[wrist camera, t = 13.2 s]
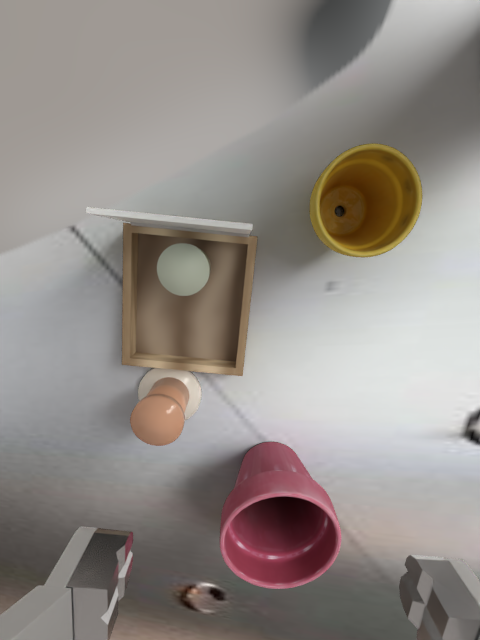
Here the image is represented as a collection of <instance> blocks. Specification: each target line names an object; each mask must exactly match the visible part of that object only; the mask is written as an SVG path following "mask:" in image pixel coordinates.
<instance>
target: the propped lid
mask: <svg viewBox="0 0 480 640" xmlns="http://www.w3.org/2000/svg"><path fill="white" fill-rule="evenodd" d="M86 213H88V214H93V215H98V216H103V217H108V218H113V219H117V220H122V221H127V222H131V225H132V226H142V227H152V228H161V229H171V230H181V231H191V232H201V233H211V234H220V235H230V236H240V237H249V234H250V233H251V231H252V227H253V224H249V223H239V222H229V221H219V220H209V219H200V218H190V217H180V216H170V215H161V214H151V213H141V212H131V211H122V210H112V209H102V208H92V207H86Z"/></svg>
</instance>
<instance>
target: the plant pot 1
mask: <svg viewBox="0 0 480 640" xmlns="http://www.w3.org/2000/svg"><path fill="white" fill-rule="evenodd" d="M340 546H341V530H340V526H339V523H338V519H337V516H336V513H335V510H334V507H333V505H332V502H331V500H330V498H329V496H328V494H327V493H326V491H325V490H324V489H323V488H322V487H321V486H320V485H319V484H318V483H317V482H316V481H314V480H313V479H312V478H311V476H310V474H309V473H308V471H307V470H306V468H305V467H304V465H303V464H302V462H301V461H300V459H299V458H298V456H297V455H296V453H295V452H294V451H293V450H292V449H291V448H290V447H288V446H286V445H284V444H281V443H278V442H265V443H261V444H258V445H256V446H254V447H253V448H251V449H250V450H249V451H248V452H247V453H246V455H245V456H244V458H243V461H242V464H241V467H240V470H239V473H238V477H237V480H236V483H235V487H234V489H233V490H232V491H231V493H230V494H229V495H228V497H227V499H226V501H225V503H224V506H223V509H222V515H221V527H220V549H221V553H222V556H223V559H224V561H225V562H226V564H227V566H228V567H229V568H230V569H231V570H232V571H233V572H234V573H235V574H236V575H237V576H239V577H240V578H241V579H243V580H245V581H247V582H249V583H251V584H254V585H257V586H260V587H265V588H273V589H283V588H292V587H296V586H300V585H303V584H306V583H308V582H310V581H312V580H314V579H316V578H317V577H319V576H320V575H322V574H323V573H324V572H325V571H326V570H327V569H328V568H329V567H330V566H331V565H332V564H333V562H334V561H335V559H336V557H337V555H338V553H339V550H340Z"/></svg>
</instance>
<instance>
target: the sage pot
mask: <svg viewBox="0 0 480 640" xmlns="http://www.w3.org/2000/svg"><path fill="white" fill-rule="evenodd" d="M210 270H211V264H210V260H209V258H208V256H207V255H206V253H205V252H204V251H202V250H201V249H199V248H197V247H196V246H194V245H191V244H186V243H179V244H174V245H171V246H170V247H168V248H167V249H165V250H164V251H163V252H162V254H161V255H160V257H159V259H158V263H157V274H158V278H159V280H160V282H161V284H162V285H163V286H164V287H165V288H166V289H167V290H168V291H169V292H171V293H173V294H175V295H179V296H189V295H193V294H195V293H197V292H198V291H200V290H201V289H202V288H203V287H204V286H205V284H206V283H207V281H208V279H209V275H210Z"/></svg>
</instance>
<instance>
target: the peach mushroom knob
mask: <svg viewBox="0 0 480 640" xmlns="http://www.w3.org/2000/svg"><path fill="white" fill-rule="evenodd" d="M188 402H189V390H188V388H187V387H186V385H185V384H184V383H183V382H182V381H180V380H179V379H176V378H172V377H165V378H162V379H160V380H158V381H156V382H155V383H154V385H153V386H152V388H151V389H150V391H149V392H148V394H147V395H146V397H144V398H142V399H141V400H140V401H139V402H138V403H137V405H136V406H135V408H134V409H133V411H132V414H131V418H130V423H131V427H132V430H133V432H134V433H135V435H136V436H137V437H138V438H139V439H140V440H142V441H143V442H145V443H147V444H150V445H155V446H162V445H167V444H169V443H172V442H173V441H175V440H176V439H177V438H178V437H179V435H180V434H181V432H182V429H183V426H184V422H185V414H184V413H185V410H186V408H187V405H188Z"/></svg>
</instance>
